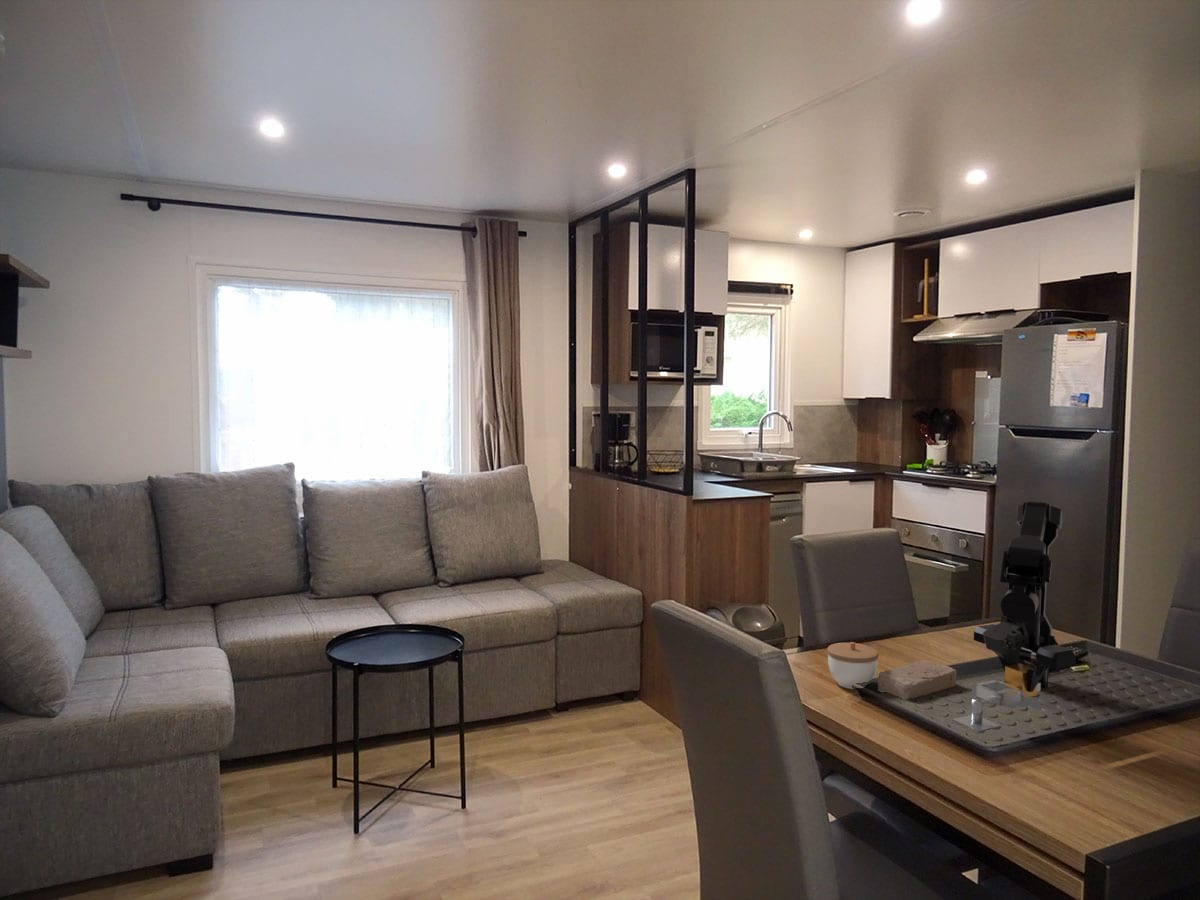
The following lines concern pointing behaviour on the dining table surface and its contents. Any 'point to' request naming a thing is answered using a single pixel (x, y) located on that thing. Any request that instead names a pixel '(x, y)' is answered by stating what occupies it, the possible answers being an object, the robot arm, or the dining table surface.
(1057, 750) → the dining table surface
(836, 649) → the lidded jar
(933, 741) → the dining table surface
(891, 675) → the brick
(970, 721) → the metal knob
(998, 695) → the grey and orange frame
